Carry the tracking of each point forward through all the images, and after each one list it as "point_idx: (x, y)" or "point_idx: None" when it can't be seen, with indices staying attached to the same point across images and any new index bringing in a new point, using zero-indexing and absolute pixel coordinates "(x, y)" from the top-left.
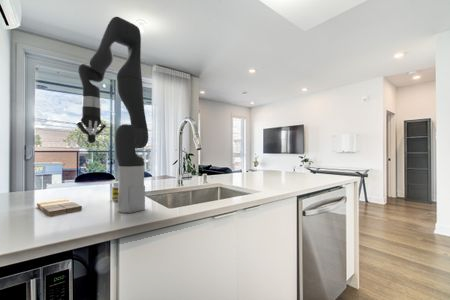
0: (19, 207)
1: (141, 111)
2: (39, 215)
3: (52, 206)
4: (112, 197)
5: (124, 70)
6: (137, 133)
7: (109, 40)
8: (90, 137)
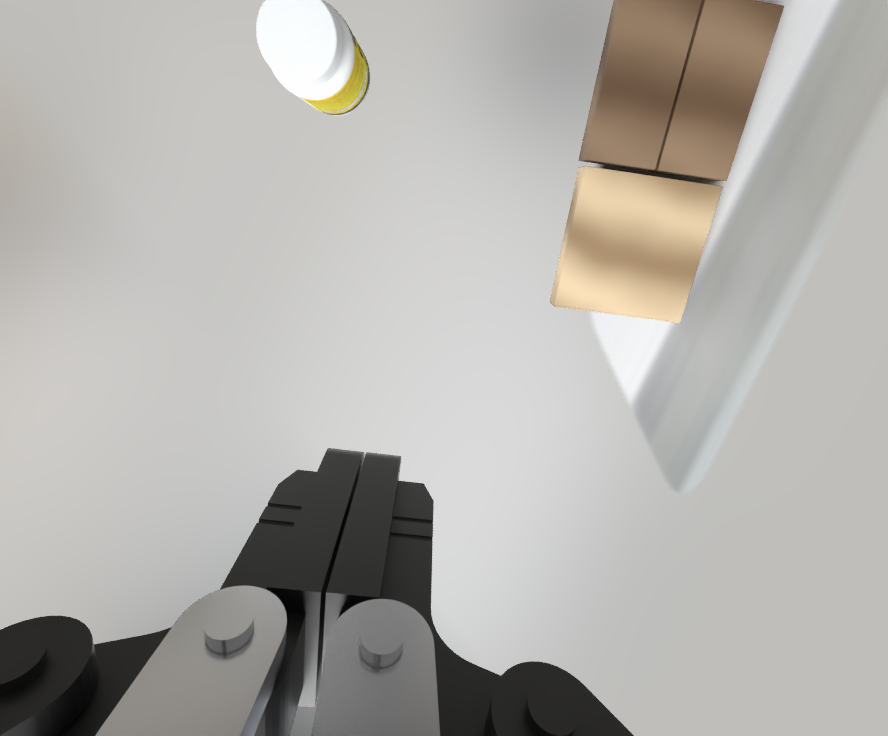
0: (701, 382)
1: None
2: (768, 98)
3: (697, 148)
4: (367, 79)
5: None
6: None
7: None
8: (386, 548)
